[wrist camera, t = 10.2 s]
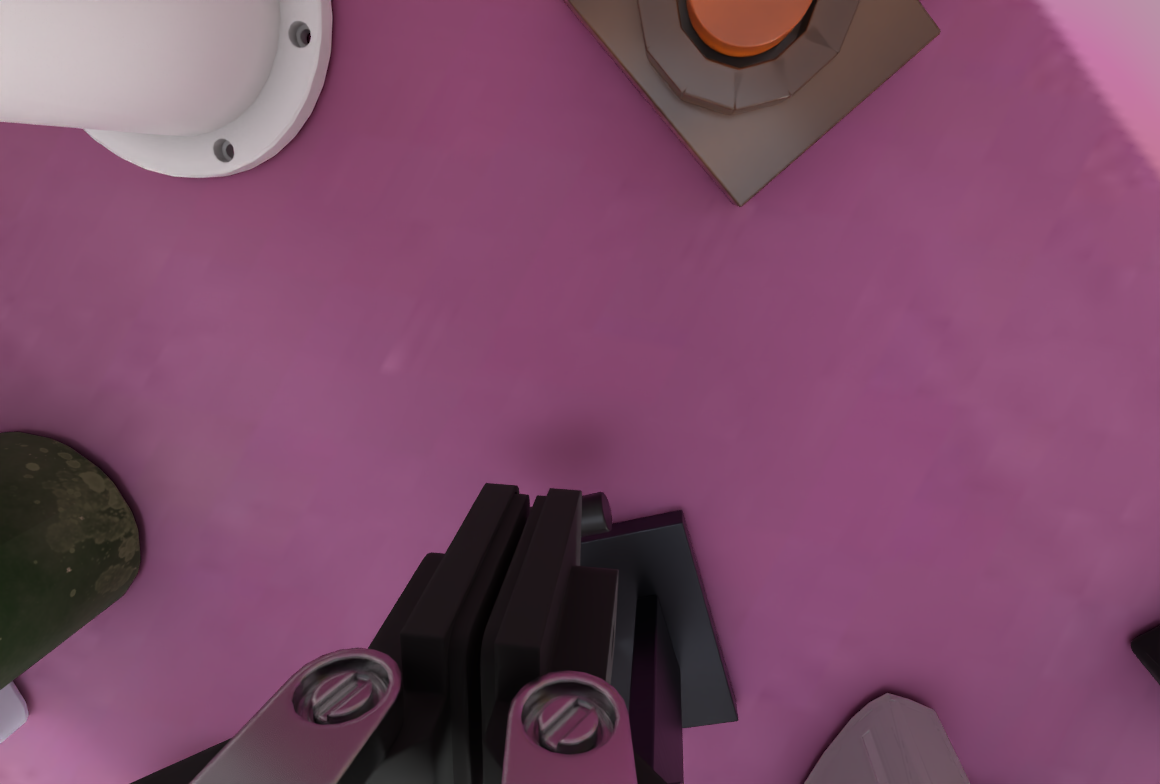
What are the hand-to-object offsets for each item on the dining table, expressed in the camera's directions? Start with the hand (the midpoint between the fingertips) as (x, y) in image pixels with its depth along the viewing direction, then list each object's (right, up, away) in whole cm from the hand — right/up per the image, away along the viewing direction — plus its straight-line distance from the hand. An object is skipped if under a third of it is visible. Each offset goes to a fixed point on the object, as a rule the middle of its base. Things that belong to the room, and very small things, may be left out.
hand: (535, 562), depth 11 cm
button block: (+6, +16, +12) cm, 21 cm away
